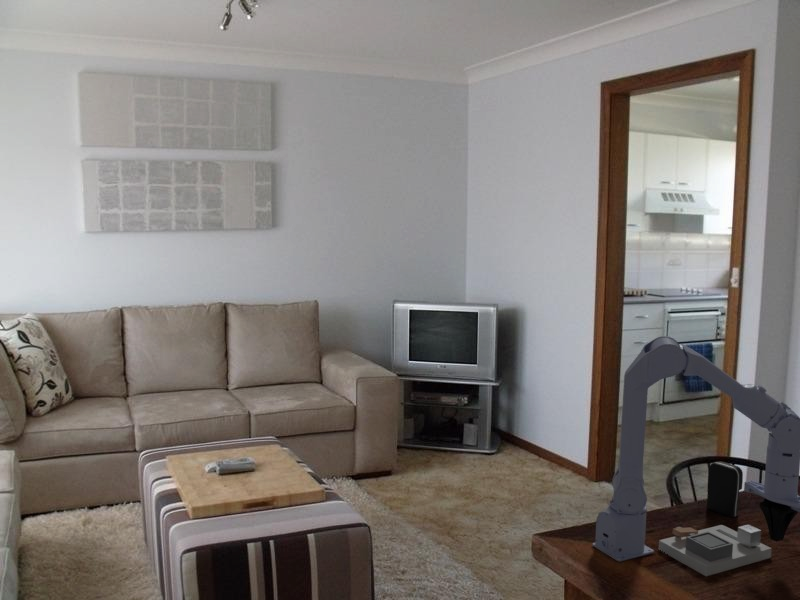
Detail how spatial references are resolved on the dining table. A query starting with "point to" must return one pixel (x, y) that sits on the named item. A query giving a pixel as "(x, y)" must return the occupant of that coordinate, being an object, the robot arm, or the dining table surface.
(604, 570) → the dining table surface
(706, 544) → the push button
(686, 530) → the rocker switch
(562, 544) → the dining table surface
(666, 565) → the dining table surface
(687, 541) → the control panel
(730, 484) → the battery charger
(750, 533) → the slider knob
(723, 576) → the dining table surface
